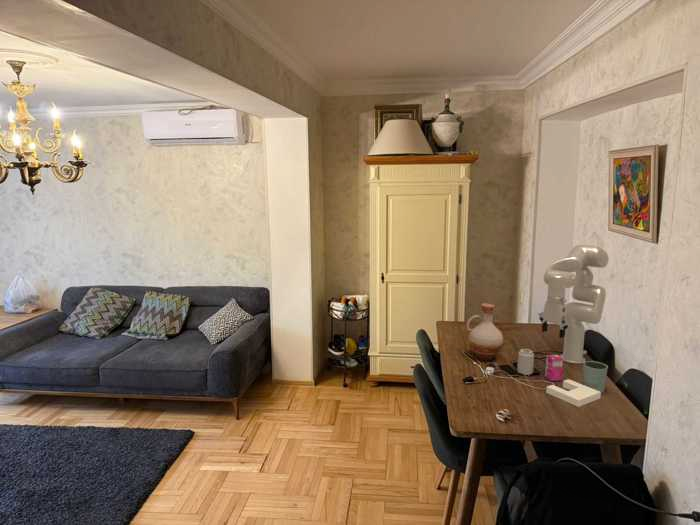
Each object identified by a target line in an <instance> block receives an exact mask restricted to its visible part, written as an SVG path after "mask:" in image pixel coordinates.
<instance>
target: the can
mask: <svg viewBox="0 0 700 525" xmlns="http://www.w3.org/2000/svg"><path fill="white" fill-rule="evenodd" d="M534 362H535V353H534V351H533V350H532V349H530V348H521V349H520V350H519V351H518V354H517V366H516V367H517V368H516V369H517V370H516V371H517V373H518V374H519V373H521V374H524V375H523V376H526V375H528V376H531V375H532V374H533V373H534V364H535V363H534ZM521 374H520V375H521ZM530 374H531V375H530Z"/></svg>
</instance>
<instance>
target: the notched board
mask: <svg viewBox="0 0 700 525" xmlns="http://www.w3.org/2000/svg"><path fill="white" fill-rule="evenodd" d="M562 382H563V383H562V388H561V387H559V386H556V385H554V384H551V385H548V386H546V390H545V391H546V394H548V395H550V396H552V397H554V398H558V399H560V400H561V401H564V402H566V403H568V404H570V405H572V406H575V407H577V408H579V407H582V406H584V405H587V404H590V403H592V402H595V401H598V400H600V399H601V397H602V396H601V395H602V393H601V392H600V391H597V390H595V389H592V388H590V387H587V386H585V385H584V384H582V383H579V382H577V381H575V380H571V379H569V378H568V379H565V380H562ZM566 389H567V390H566Z"/></svg>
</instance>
